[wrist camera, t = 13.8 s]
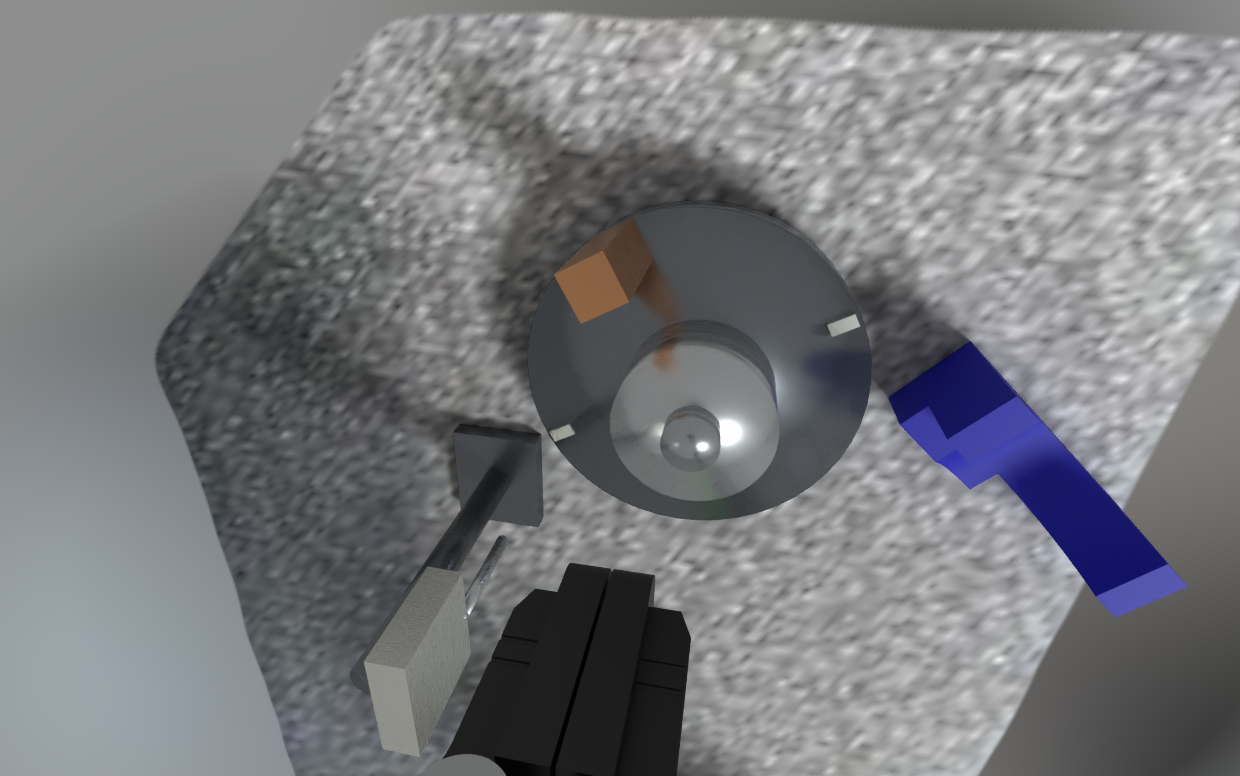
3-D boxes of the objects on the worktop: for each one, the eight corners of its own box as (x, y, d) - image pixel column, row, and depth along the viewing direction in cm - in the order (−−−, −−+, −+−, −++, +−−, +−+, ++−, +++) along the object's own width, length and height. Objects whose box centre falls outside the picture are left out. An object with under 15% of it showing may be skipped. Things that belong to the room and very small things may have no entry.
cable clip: (887, 395, 31) (915, 459, 26) (969, 339, 29) (1016, 396, 24) (1029, 544, 33) (1081, 631, 28) (1114, 501, 31) (1187, 586, 26)
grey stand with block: (543, 517, 39) (424, 765, 25) (467, 505, 39) (310, 740, 25) (541, 434, 36) (405, 660, 22) (460, 424, 37) (279, 635, 23)
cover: (799, 425, 29) (808, 489, 24) (666, 470, 32) (651, 536, 27) (738, 294, 27) (735, 337, 22) (601, 354, 29) (573, 404, 25)
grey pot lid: (909, 444, 31) (957, 552, 24) (626, 529, 36) (596, 637, 29) (789, 132, 26) (803, 151, 18) (482, 288, 31) (404, 347, 24)
